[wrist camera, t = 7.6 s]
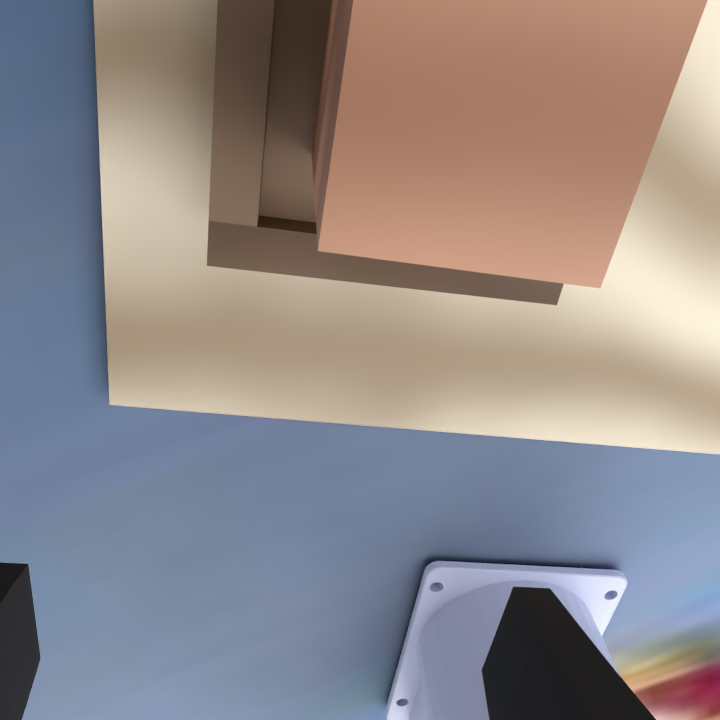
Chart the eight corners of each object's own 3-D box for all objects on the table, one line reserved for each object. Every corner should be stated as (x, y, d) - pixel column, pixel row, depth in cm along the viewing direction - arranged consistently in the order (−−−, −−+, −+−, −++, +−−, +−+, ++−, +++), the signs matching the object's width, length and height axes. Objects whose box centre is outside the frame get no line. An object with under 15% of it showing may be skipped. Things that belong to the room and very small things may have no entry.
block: (491, 182, 14) (600, 288, 9) (311, 154, 14) (317, 251, 8) (545, -26, 12) (723, -43, 7) (340, -68, 12) (369, -122, 7)
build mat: (837, 454, 23) (926, 530, 20) (114, 394, 20) (76, 474, 16) (1237, -179, 15) (1511, -231, 11) (83, -491, 11) (-11, -701, 8)
